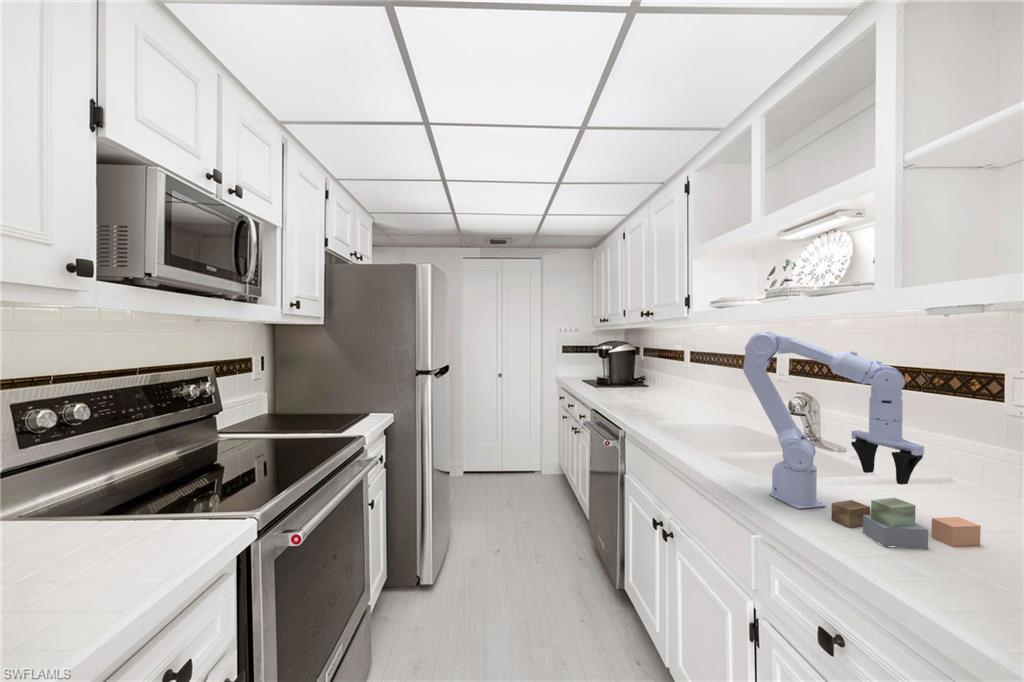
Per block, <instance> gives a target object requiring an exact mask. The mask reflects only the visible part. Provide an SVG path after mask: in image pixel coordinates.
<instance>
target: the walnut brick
mask: <svg viewBox="0 0 1024 682" xmlns="http://www.w3.org/2000/svg"><path fill="white" fill-rule="evenodd" d="M863 515H871V506H869V505H866V504H863V503H860V502H858V501H856V500H853V499H851V500H850V499H849V500H848V499H847V500H842V501H836V502H831V521H832V522H834V521H835V523H837V524H839V525H841V524H842V525H841V526H844V527H846V528H849V529H852V528H857V527H858V528H859V527H863Z"/></svg>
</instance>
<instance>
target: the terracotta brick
mask: <svg viewBox="0 0 1024 682" xmlns="http://www.w3.org/2000/svg"><path fill="white" fill-rule="evenodd" d="M981 527H982V526H981V525H980V524H977V523H974V522H972V521H970V520H967V519H966V518H965V519H964V518H962V517H959V516H951V517H950V516H949V517H948V516H947V517H931V538H933V539H935V540H936V541H939V542H942V543H944V544H946V545H948V546H950V547H952V546H954V547H970V545H971V547H972V545H974V546H975V545H976V546H981Z"/></svg>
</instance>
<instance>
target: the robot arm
mask: <svg viewBox="0 0 1024 682" xmlns="http://www.w3.org/2000/svg"><path fill="white" fill-rule="evenodd" d="M744 351H745V352H744V359H743V369H742V370H743V374H744V375H745V377H746V379H747V381H748V382H749V384H750V386H751V388H752V390H753V392H754V394H755V396H756V398H757V399H758V401H759V403H760V405H761V407H762V409H763V410H764V412H765V414H766V416H767V418H768V420H769V421H770V424H771V425H772V427H773V429H774V430H775V433H776V434H777V435H776V436H777V438H778V443H779V445H780V447H781V449H782V450H781V451H782V458H783V461H779V462H777V463H775V464H774V466H773V468H772V471H771V472H772V473H771V474H772V476H771V478H772V479H771V483H772V484H771V485H772V486H771V491H772V492H769V495H770V496H771V497H773V498H775V499H777V500H779V501H782V502H784V503H785V504H787V505H789V506H791V507H793V508H795V509H798V510H800V509H801V510H803V509H812V508H824V507H826V504H825V503H823V502H821V501H819V500H817V488H818V487H817V477H818V475H817V466H816V465H815V464H814V457H815V456H816V447H815V445H814V443H813V442H812V441H811V440H809V439H808V438H806V436H805V435H804V433H803V432H802V430H801V429H800V428H799V427H798V426H797V425H796V422H795V421H794V419H793V416H792V415H791V414H790V411H789V410H788V408H787V406H786V405H785V403H784V401H783V399H782V397H781V395H780V394H779V392H778V390H777V388H776V385H774V382H773V381H772V379H771V377H770V376H769V374H768V372H767V369H768V366H769V363H770V361H771V359H772V358H773V357H774V356H775V355H776V354H779V355H780V354H795V355H798V356H801V357H804V358H806V359H810V360H812V361H816V362H819V363H821V364H824V365H827V366H829V368H830V371H831V372H832V374H835V375H839V376H841V377H844V378H847V379H849V380H852V381H854V382H857V383H860V384H862V385H865V384H868V385H870V386H871V387H870V397H869V401H868V402H869V404H868V405H869V410H868V413H869V414H868V416H869V417H868V431H864V430H863V431H862V430H851V439H852V440H855V441H851V446H852V448H853V449H854V451H855V452H856V454H857V457H858V458H859V461H860V464H861V468H862V471H863V474H870V473H871V474H872V473H874V471H875V461H876V454H877V450H878V447H879V446H881V447H886V448H890V449H894V450H896V451H891V456H892V458H893V462H894V465H895V480H896V481H895V482H896V484H898V485H908V484H909V481H910V480H911V479H910V478H911V477H912V476H911V475H912V474H913V471H914V469H915V468H916V467H917V465H918V464H919V462H920V461H921V460H923V457H924V455H925V446H924V445H921V444H918V443H914V442H911V441H908V440H906V439H904V437H903V409H904V408H903V404H904V401H903V399H902V396H903V391H902V390H903V388H904V387H905V384H906V380H905V378H904V376H903V374H902V373H901V372H900V371H899V370H898V369H897V368H896V367H893V366H891V365H889V364H883V362H882V361H880V360H878V359H877V360H876V361H874V360H872V359H869V358H867V357H863V356H860V355H859V354H858V352H857V351H854V350H851V351H850V352H849V351H846V350H843V351H841V352H837V353H835V352H832V351H829V350H826V349H823V348H821V347H819V346H816V345H813V344H811V343H808V342H806V341H803V340H801V339H797V338H796V337H792V336H787V335H782V334H776V333H774V332H771V331H764V332H763V331H760V332H756V333H754V334H753V335H752V336H751V337H750V338H749V340H748V342H747V343H746V344H745V347H744Z"/></svg>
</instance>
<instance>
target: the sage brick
mask: <svg viewBox="0 0 1024 682" xmlns="http://www.w3.org/2000/svg"><path fill="white" fill-rule="evenodd" d="M870 504H871V505H870V515H871V519H872V520H875V521H877V522H879V523H882V524H884V525H886V526H889V527H891V528H892V527H900V526H909V525H915V523H916V504H914V503H910V502H907V501H905V500H902V499H900V498H897V497H888V498H879V499H871V501H870Z"/></svg>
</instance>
